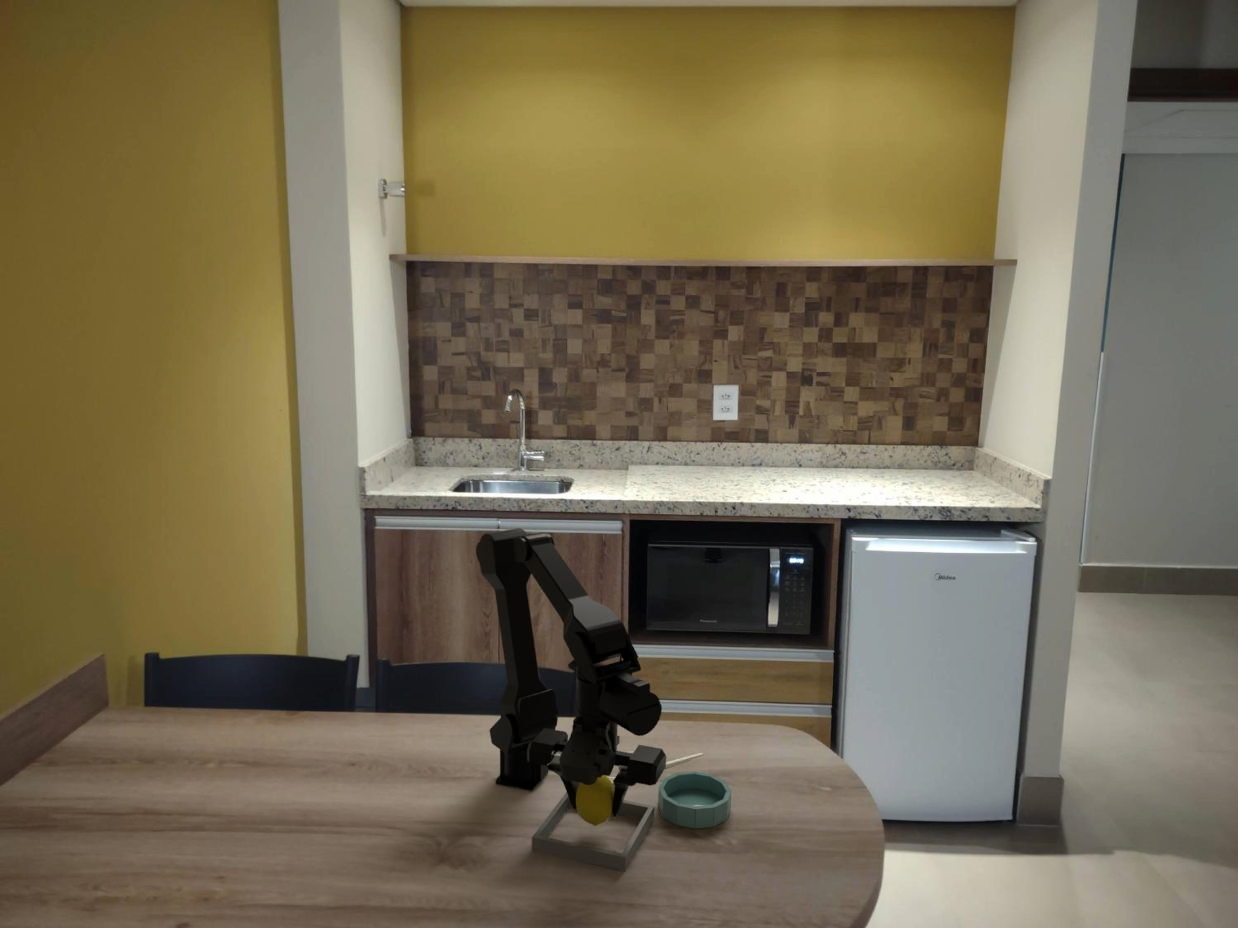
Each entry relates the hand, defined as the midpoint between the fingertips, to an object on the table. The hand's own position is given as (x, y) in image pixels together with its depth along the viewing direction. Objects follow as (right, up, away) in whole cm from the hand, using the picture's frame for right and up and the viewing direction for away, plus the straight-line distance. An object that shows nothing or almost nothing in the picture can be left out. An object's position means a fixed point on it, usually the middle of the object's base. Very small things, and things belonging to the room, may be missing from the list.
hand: (595, 811), depth 129 cm
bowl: (+15, -2, +8) cm, 17 cm away
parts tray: (0, -3, +1) cm, 3 cm away
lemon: (0, -2, 0) cm, 2 cm away
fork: (+9, -1, +19) cm, 21 cm away
